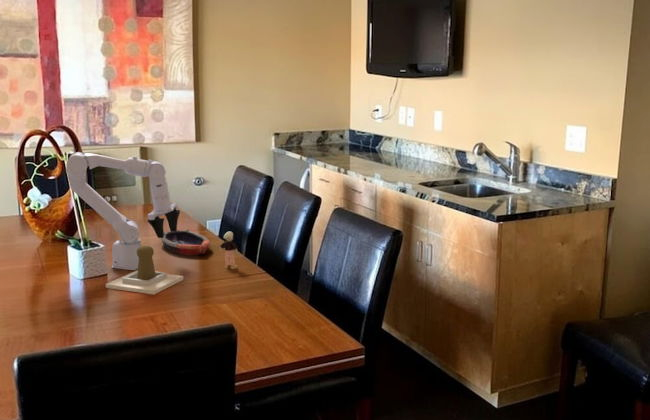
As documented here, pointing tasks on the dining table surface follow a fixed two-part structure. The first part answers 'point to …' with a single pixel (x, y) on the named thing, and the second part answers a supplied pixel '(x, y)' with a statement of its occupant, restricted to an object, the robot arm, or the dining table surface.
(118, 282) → the holder board
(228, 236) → the grandmother figurine
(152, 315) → the dining table surface
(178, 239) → the dish
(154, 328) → the dining table surface
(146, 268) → the cork
